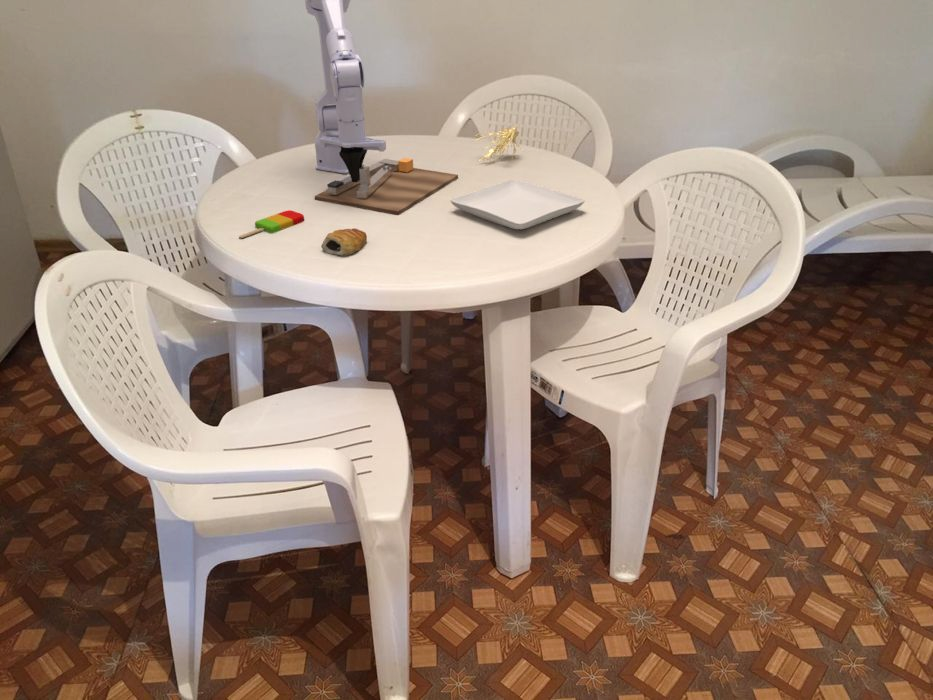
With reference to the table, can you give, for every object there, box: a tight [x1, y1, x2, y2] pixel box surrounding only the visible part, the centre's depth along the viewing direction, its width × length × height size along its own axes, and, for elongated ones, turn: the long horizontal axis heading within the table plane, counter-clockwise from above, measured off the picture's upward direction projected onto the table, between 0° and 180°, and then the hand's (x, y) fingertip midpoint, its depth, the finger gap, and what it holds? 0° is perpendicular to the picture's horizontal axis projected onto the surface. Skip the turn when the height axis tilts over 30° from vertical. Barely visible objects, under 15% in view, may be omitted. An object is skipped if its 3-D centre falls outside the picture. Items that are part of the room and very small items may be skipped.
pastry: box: [320, 228, 368, 257], centre depth 139 cm, size 9×7×4 cm
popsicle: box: [238, 210, 305, 239], centre depth 148 cm, size 6×15×2 cm, turn 142°
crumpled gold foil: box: [471, 123, 523, 163], centre depth 186 cm, size 11×15×9 cm
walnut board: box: [313, 167, 459, 216], centre depth 169 cm, size 28×22×1 cm
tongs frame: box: [326, 158, 399, 195], centre depth 171 cm, size 24×5×2 cm, turn 153°
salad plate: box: [450, 178, 586, 230], centre depth 155 cm, size 21×21×3 cm
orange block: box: [397, 157, 414, 172], centre depth 177 cm, size 3×2×2 cm
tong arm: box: [356, 165, 392, 199], centre depth 166 cm, size 18×2×6 cm, turn 166°
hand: (356, 180), depth 162 cm, fingers closed
